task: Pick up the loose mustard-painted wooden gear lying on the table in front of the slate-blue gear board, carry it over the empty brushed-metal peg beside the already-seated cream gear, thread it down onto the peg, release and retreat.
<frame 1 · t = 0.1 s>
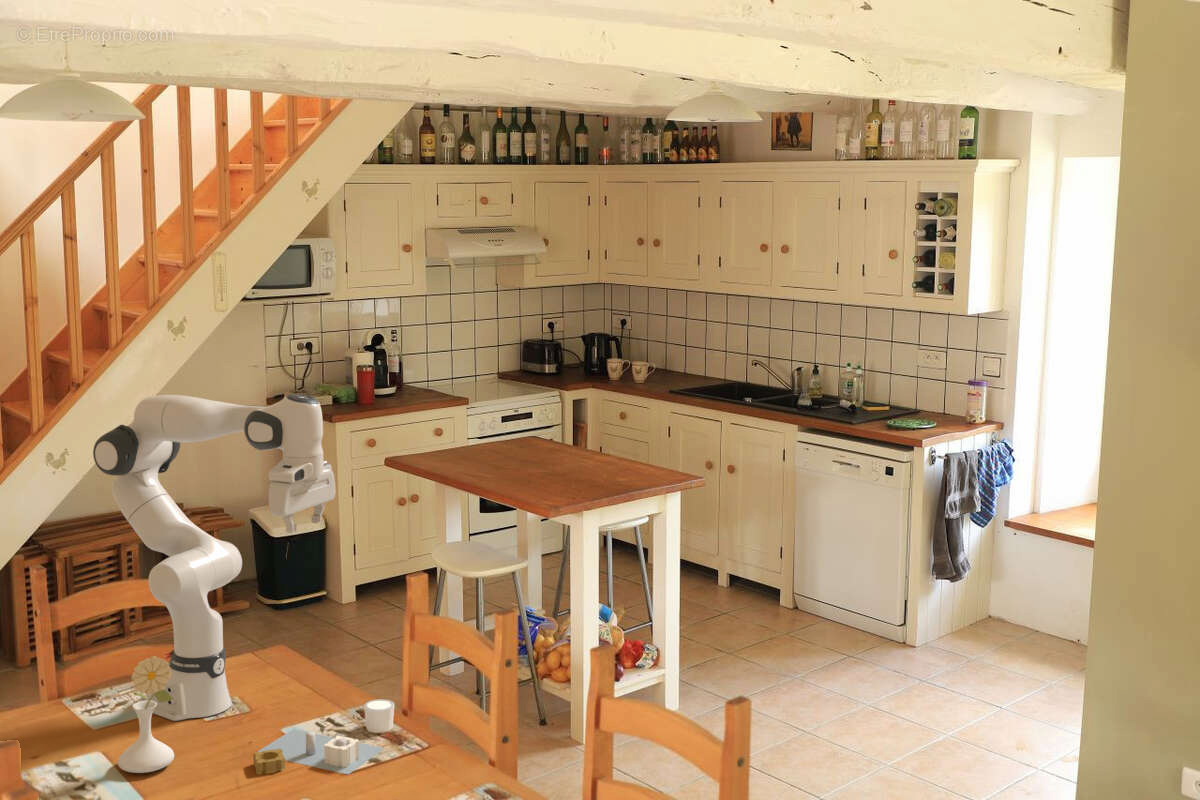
hand: (304, 527, 268), 48 cm above the table, tool pointing down, fingers open, 8 cm apart
gear board: (320, 757, 261), on the table
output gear: (341, 760, 256), point 1 cm above the table, touching gear board
white cup: (379, 734, 274), on the table
flower in vase: (149, 767, 255), on the table
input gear: (269, 773, 253), on the table
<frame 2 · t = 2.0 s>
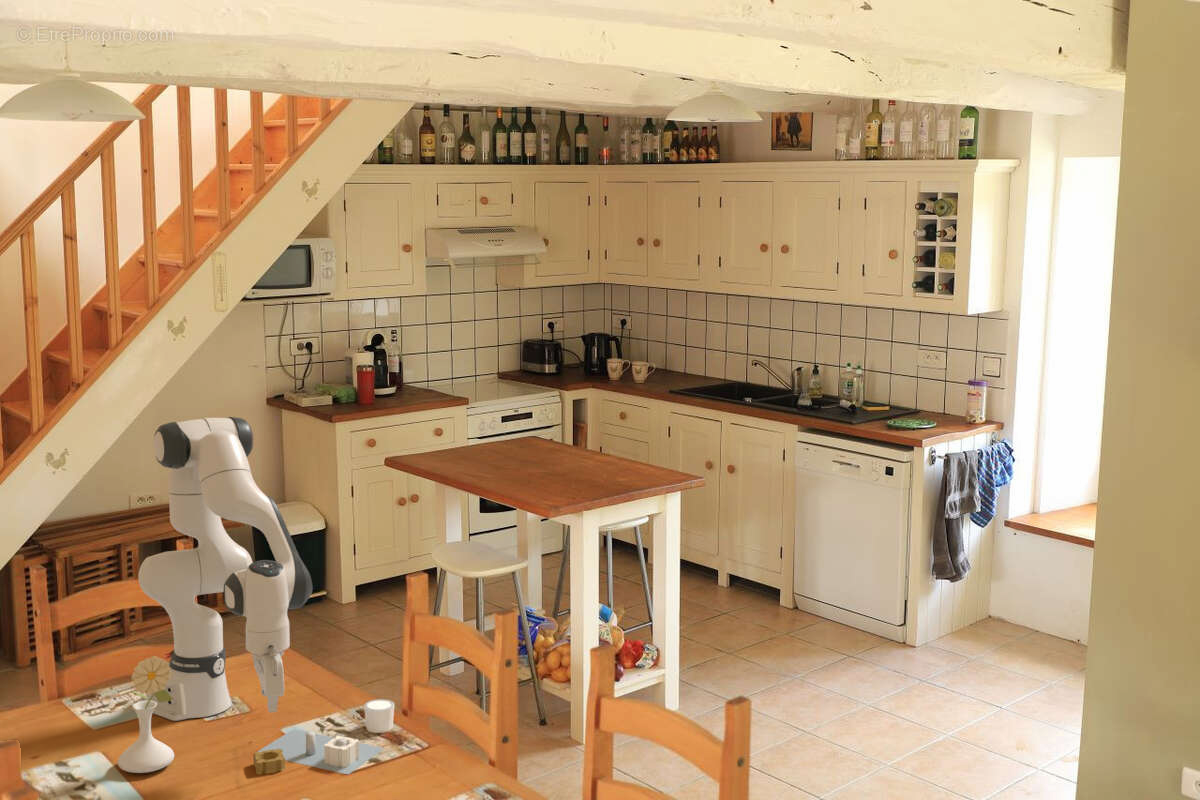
hand: (269, 702, 251), 16 cm above the table, tool pointing down, fingers open, 8 cm apart
nothing on the table moved.
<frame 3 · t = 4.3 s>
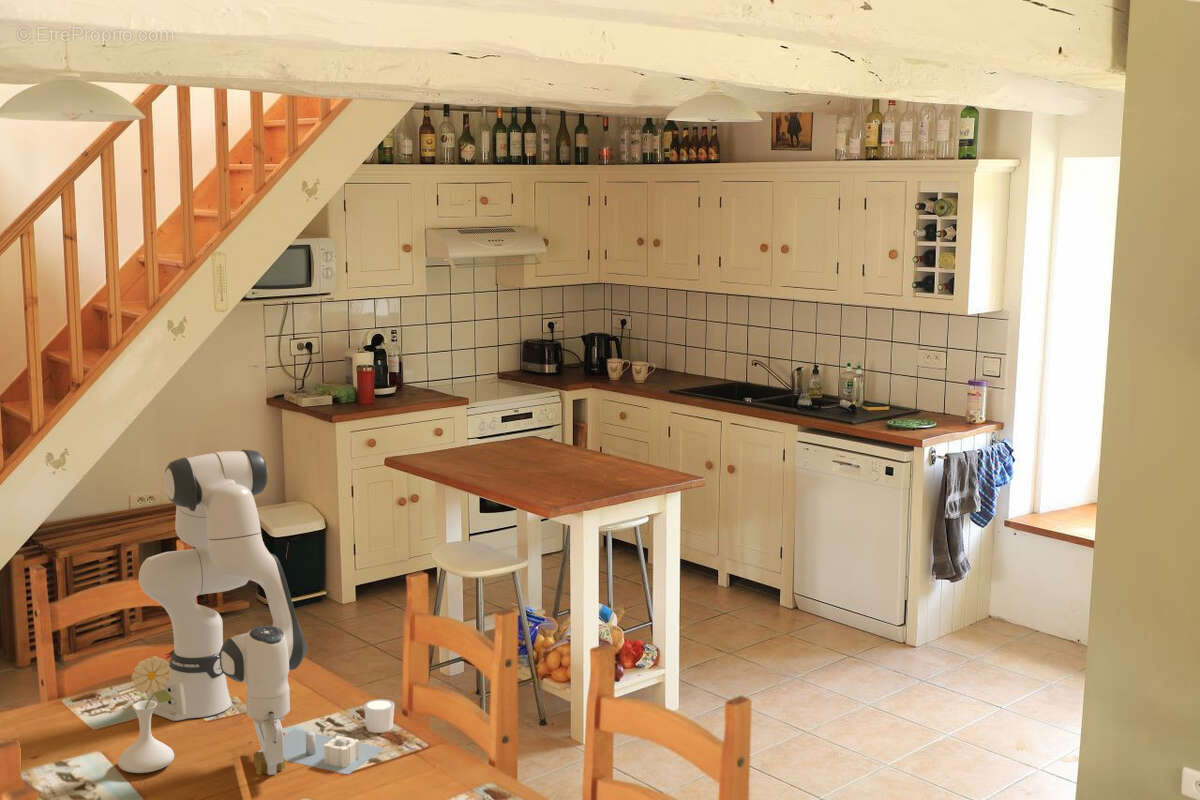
hand: (269, 766, 253), 2 cm above the table, tool pointing down, fingers closed on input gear, 6 cm apart
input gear: (269, 773, 253), on the table, touching gripper
everything else where it was.
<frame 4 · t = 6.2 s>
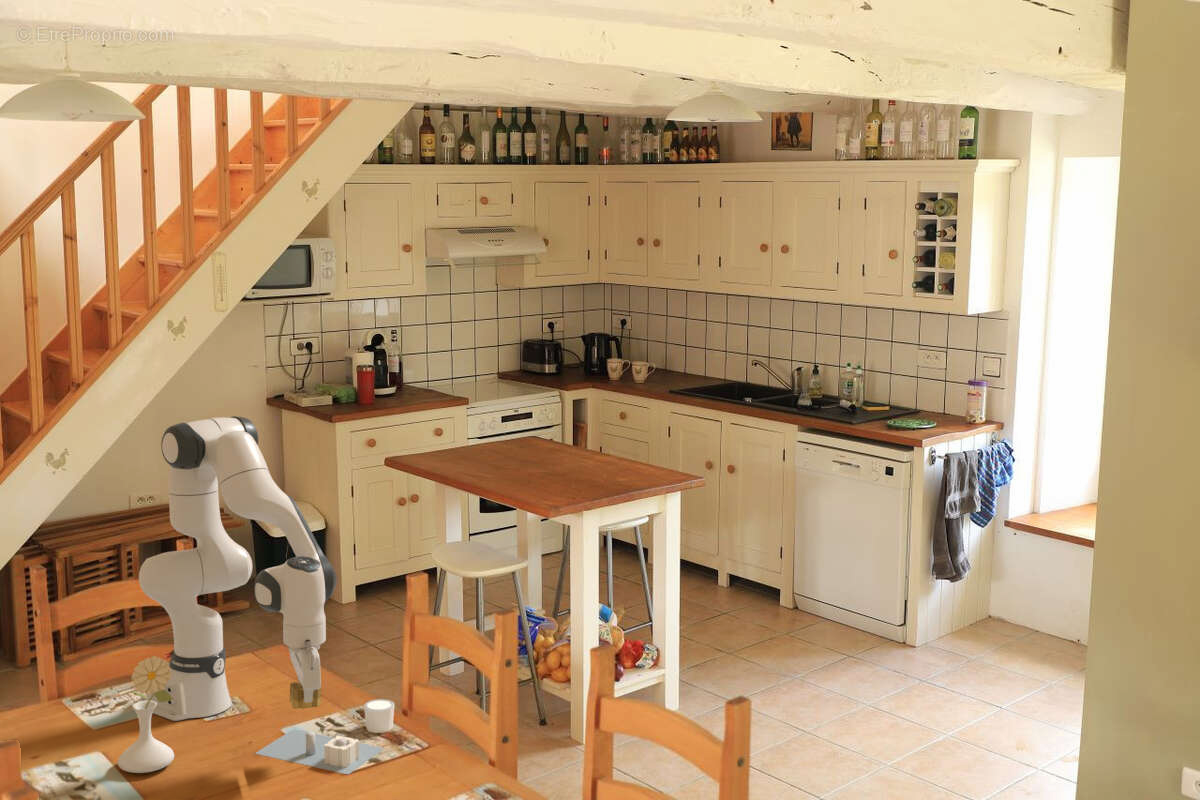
hand: (305, 695, 257), 15 cm above the table, tool pointing down, fingers closed on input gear, 6 cm apart
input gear: (305, 703, 257), point 13 cm above the table, touching gripper
everything else where it was.
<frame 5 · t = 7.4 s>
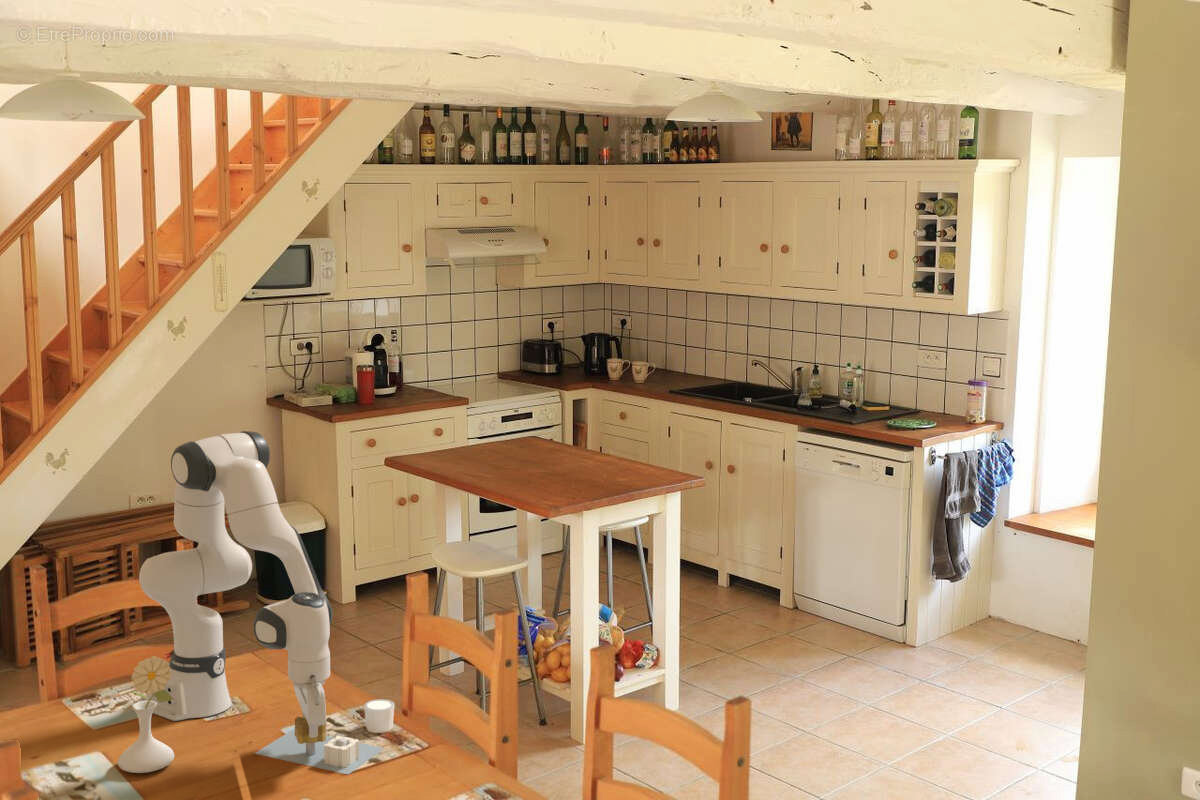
hand: (310, 729, 258), 7 cm above the table, tool pointing down, fingers closed on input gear, 6 cm apart
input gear: (310, 738, 258), point 5 cm above the table, touching gripper
everything else where it was.
when the fingers open (5 cm above the table, at t = 8.2 s): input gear drops 2 cm, resting on gear board.
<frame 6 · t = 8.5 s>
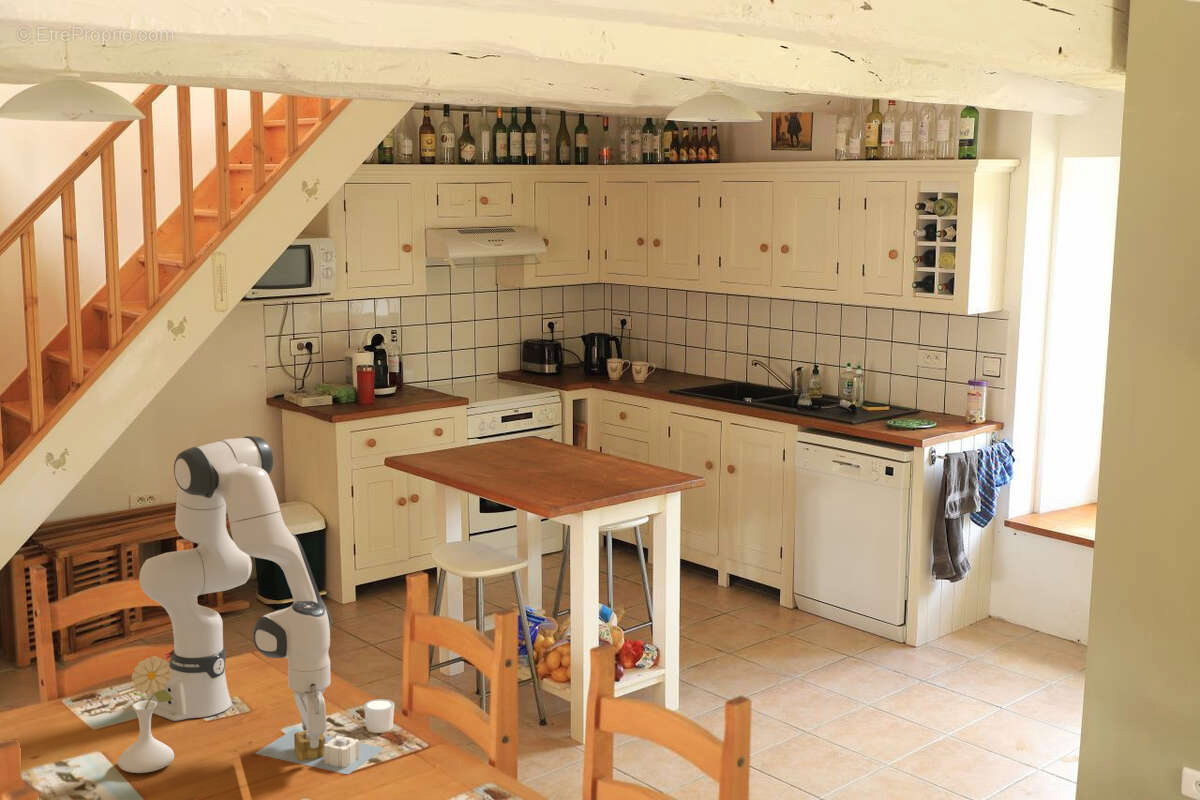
hand: (310, 737, 259), 5 cm above the table, tool pointing down, fingers open, 8 cm apart
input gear: (310, 753, 259), point 1 cm above the table, touching gear board
everything else where it was.
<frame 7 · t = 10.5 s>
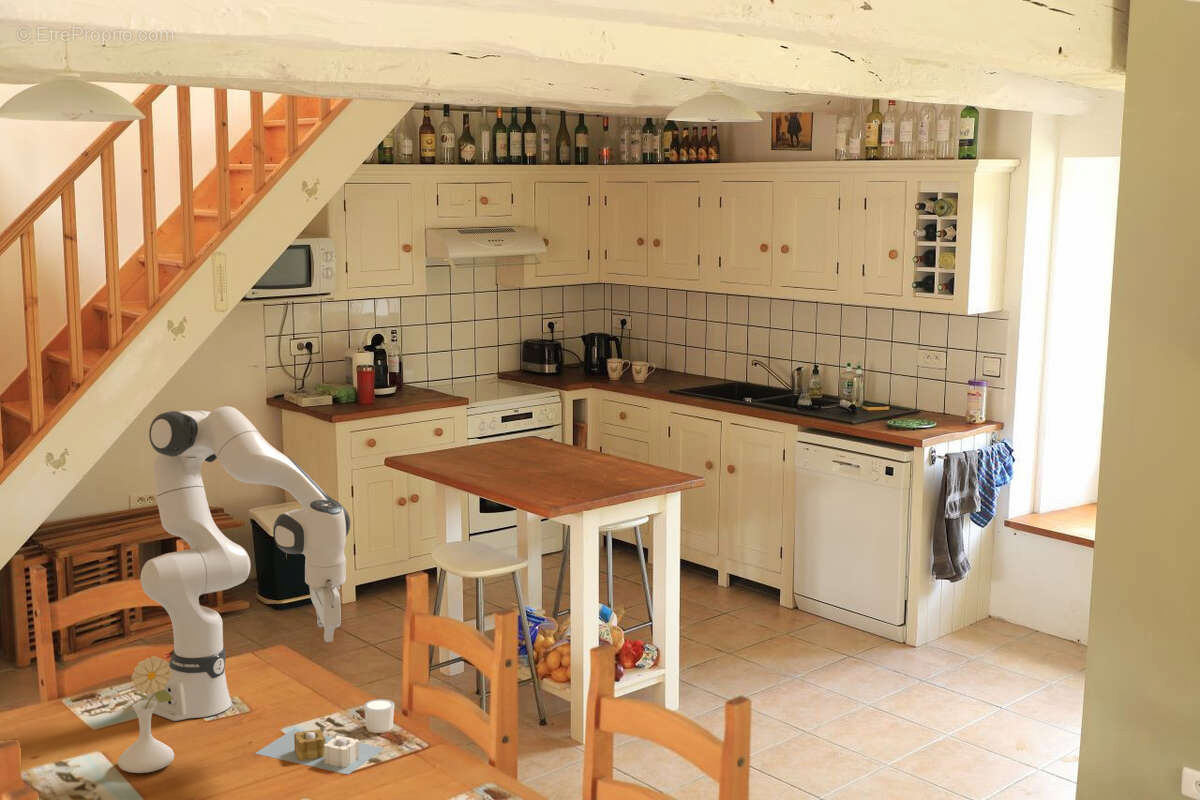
hand: (325, 633, 267), 25 cm above the table, tool pointing down, fingers open, 8 cm apart
nothing on the table moved.
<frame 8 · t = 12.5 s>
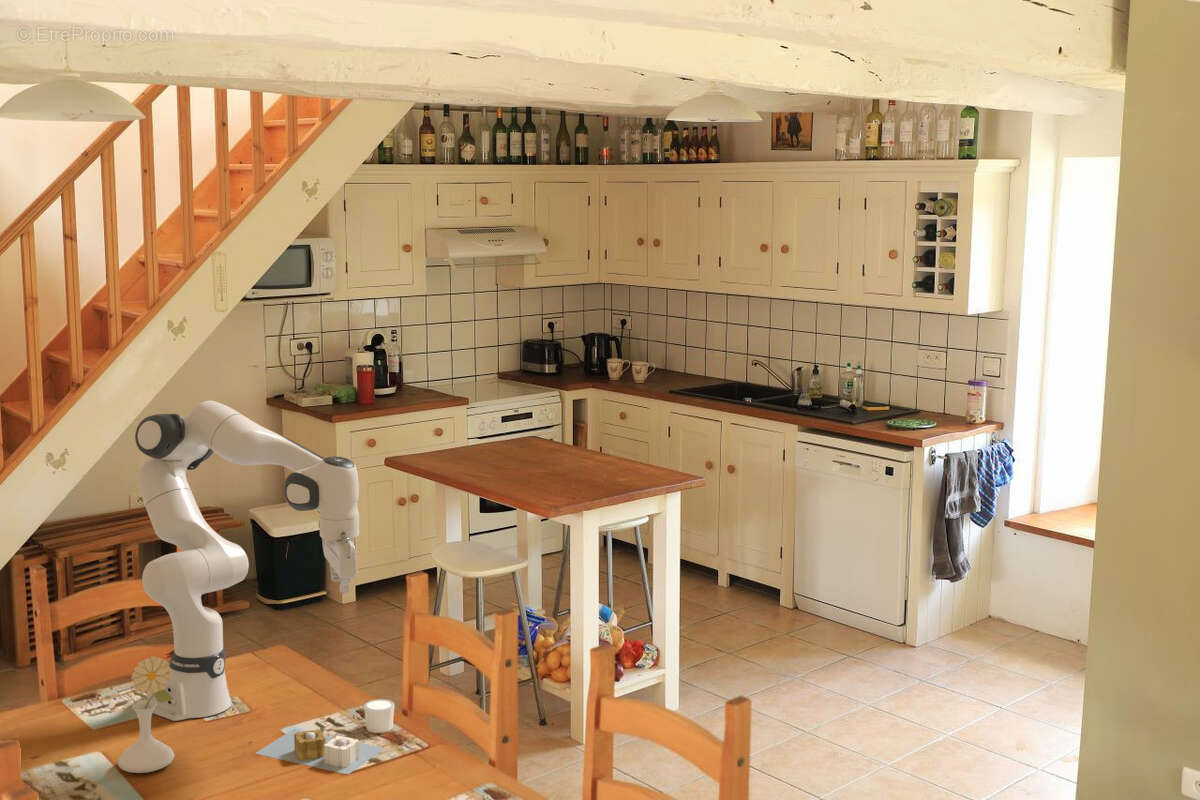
hand: (340, 586, 274), 33 cm above the table, tool pointing down, fingers open, 8 cm apart
nothing on the table moved.
at the end: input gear 0.2 cm from the target spot, point 1.5 cm above the table; the gripper is holding nothing; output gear moved 0.1 cm from its start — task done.
